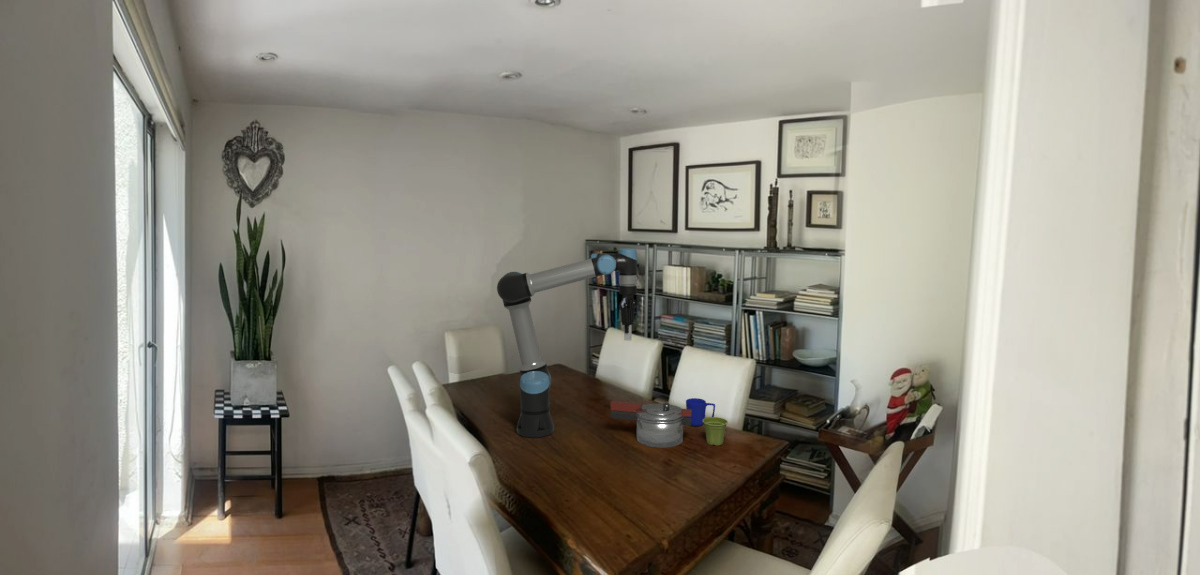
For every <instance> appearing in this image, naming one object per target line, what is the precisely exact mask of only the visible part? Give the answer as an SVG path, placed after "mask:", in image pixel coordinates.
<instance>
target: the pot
mask: <svg viewBox="0 0 1200 575" xmlns="http://www.w3.org/2000/svg"><path fill="white" fill-rule="evenodd" d="M610 418H611V419H617V420H629V421H636V440H637V442H638V443H639V444H641V445H643V446H646V447H651V448H659V449H660V448H661V449H665V448H672V447H673V448H674V447H677V446H679V445H681V444H682V443H683V441H684V426H687V427H688V426H689V427H690V426H692V425H691V422H692V418H687V417H685V416H683V417H682V418H680V419H677V420H673V421H651V420H646V419H643V418H640V417H639V416H637V415H636V412H628V411H616V410H611V412H610Z"/></svg>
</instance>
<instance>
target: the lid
mask: <svg viewBox="0 0 1200 575" xmlns="http://www.w3.org/2000/svg"><path fill="white" fill-rule="evenodd" d="M610 411H619V412H630V413H636V415H637V416H639V417H640V418H643V419H646V420H651V421H673V420H677V419H680V418H682V417H683V416H684V417H687V416H689V417H691V415H692V409H686V408H682V407H680V406H677V405H675V404H674V405H673V404H670V403H669V402H663V403H648V404H643V403H642V402H632V401H623V400H622V401H620V400H611V402H610Z"/></svg>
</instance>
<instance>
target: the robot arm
mask: <svg viewBox="0 0 1200 575" xmlns="http://www.w3.org/2000/svg"><path fill="white" fill-rule="evenodd" d="M637 255H638V253H637V249H636V248H632V247H631V248H629V247H628V248H624V247H623V248H619V250H618V252H615V253H605V252H603V253H600V252H598V253H597V252H596V253H592V254H591V255H590V258H588V259H585V260H580V261H577V262H573V263H569V264H566V265H565V264H564V265H560V266H558V267H554V268H550V269H547V270H542V271H538V272H534V273H531V274H530V273H528V272H525V273H521V272H519V271H510V272H506V273H505V274H504V275H503V276H502V277H501V278H500V279H499V280H498V282H497V283H496V284H497V285H496V291H497V295H498V296H499V297H500V299H502V303H503V307H504V308H505V309H506V310H508V312H509V317H510V320H511V325H512V328H513V329H512V330H513V332H514V333H513V334H514V337H515V341H516V345H517V349H518V353H519V358H520V361H521V364H520V367H519V368H518V369H519V373H520V380H519V389H520V415H519V418H518V421H517V424H516V434H518V435H519V436H521V437H524V438H530V439H531V438H542V437H547V436H550V435H551V434H553V433H554V432H555V423H554V421H553V418H552V415H551V413H550V411H551V410H550V406H551V405H550V390H551V389H550V388H551V384H552V376H551V374H550V372H549V369H548V366H547V361H545V360H543V359H542V355H541V352H540V351H541V350H540V347H539V342H538V339H537V338H538V337H537V335H536V330H535V326H534V321H533V318H532V317H533V316H532V313H531V308H530V305H531V302H532V298H531V297H533V296H534V295H535V294H536V293H539V292H544V291H547V290H550V289H554V288H559V287H562V286H566V285H570V284H573V283H577V282H581V281H584V280H588V279H593V278H595V277H600V276H603V275H604V276H608V275H611V274H613V273H614V272H618V284H619V286H618V293H619V295H622V298H621V302H620V303H619V308H620V317H621V325H622V326H624V327H623V330H624V332H623V335H624V336H623V337H624V338H623V339H624V341H629V342H630V341H632V326H633V325H634V324H635V323H634V321H635V309H636V307H635V306H636V302H637V300H636V299H635V298H634V296H635V295H637V292H638V285H637V283H638V282H637V280H638V256H637Z"/></svg>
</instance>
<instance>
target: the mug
mask: <svg viewBox="0 0 1200 575" xmlns="http://www.w3.org/2000/svg"><path fill="white" fill-rule="evenodd" d="M708 406H712V407H713V409H712V414H711V417H715V410H716V404H715V403H711V402H707V401H706V400H705V399H702V398H698V397H697V398H696V397H694V398H693V397H691V398H688V399H686V400H685V409H692V415H691V417H689V416H686V418H692V422H691V426H692V425H693V427H701V426H702V425H703V426H704V423H703V419H704V418H706V411H707V407H708Z"/></svg>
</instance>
